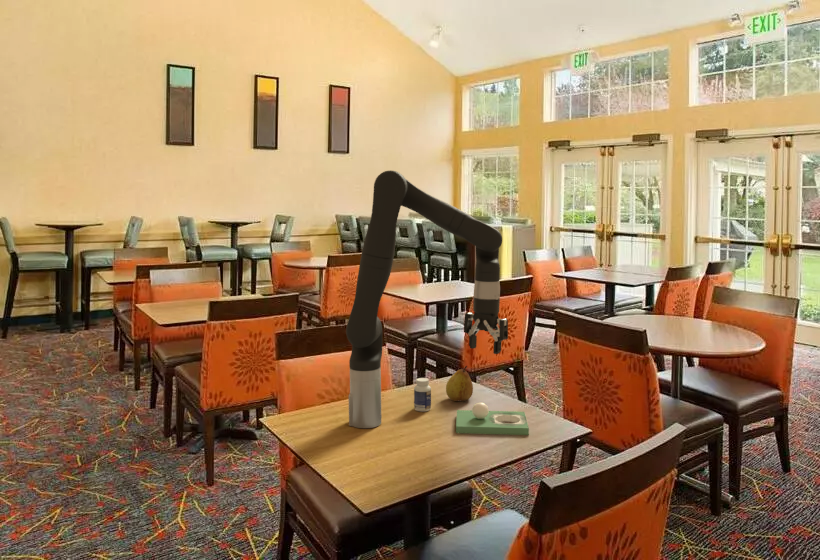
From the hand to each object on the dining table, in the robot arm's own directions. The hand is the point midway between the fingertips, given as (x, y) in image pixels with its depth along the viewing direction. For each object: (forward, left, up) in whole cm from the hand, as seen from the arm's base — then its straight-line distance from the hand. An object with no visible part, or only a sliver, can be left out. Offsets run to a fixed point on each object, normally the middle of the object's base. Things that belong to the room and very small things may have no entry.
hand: (484, 350), depth 184 cm
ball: (-1, 0, -18) cm, 18 cm away
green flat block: (+2, 0, -22) cm, 22 cm away
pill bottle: (-19, +13, -23) cm, 32 cm away
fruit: (-8, +23, -23) cm, 33 cm away
